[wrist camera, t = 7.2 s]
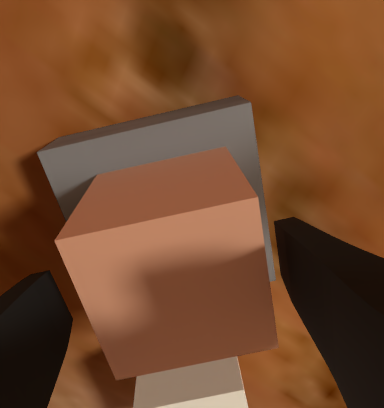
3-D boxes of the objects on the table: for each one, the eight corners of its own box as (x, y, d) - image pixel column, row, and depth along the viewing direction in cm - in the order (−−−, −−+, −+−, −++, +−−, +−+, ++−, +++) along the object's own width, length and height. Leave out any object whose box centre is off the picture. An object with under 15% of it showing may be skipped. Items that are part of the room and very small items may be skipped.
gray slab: (259, 246, 18) (275, 280, 15) (116, 277, 18) (106, 316, 15) (235, 94, 14) (250, 102, 12) (61, 135, 15) (36, 152, 12)
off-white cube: (239, 369, 21) (258, 455, 16) (163, 384, 21) (161, 474, 16) (226, 309, 19) (243, 389, 14) (142, 327, 19) (132, 412, 14)
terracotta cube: (244, 256, 14) (278, 347, 10) (133, 279, 14) (116, 380, 10) (225, 146, 12) (257, 196, 8) (96, 174, 12) (54, 240, 8)
